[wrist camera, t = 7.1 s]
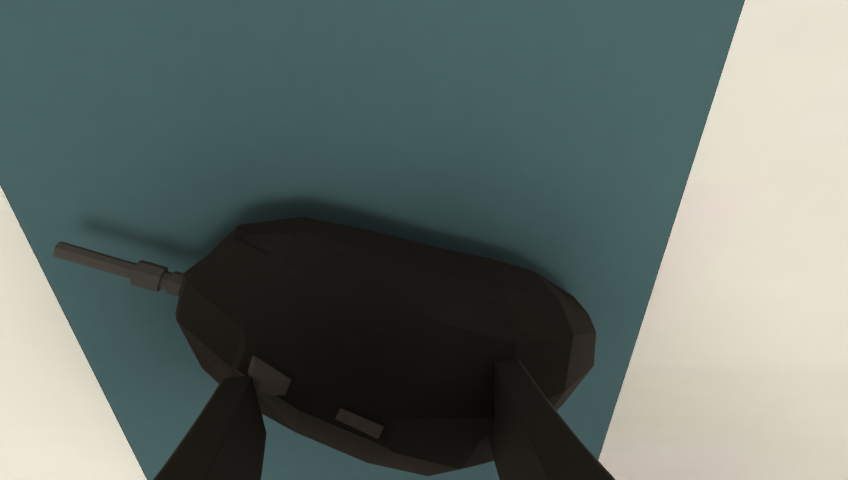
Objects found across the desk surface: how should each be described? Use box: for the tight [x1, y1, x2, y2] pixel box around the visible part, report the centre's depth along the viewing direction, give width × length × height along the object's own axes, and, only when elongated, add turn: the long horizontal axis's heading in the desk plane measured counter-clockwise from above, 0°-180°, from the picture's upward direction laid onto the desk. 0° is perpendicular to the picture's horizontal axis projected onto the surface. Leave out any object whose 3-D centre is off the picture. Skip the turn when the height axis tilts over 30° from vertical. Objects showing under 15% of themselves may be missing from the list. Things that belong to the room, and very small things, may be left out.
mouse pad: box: [0, 0, 745, 480], centre depth 15 cm, size 24×18×1 cm
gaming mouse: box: [53, 217, 596, 476], centre depth 13 cm, size 6×15×4 cm, turn 67°
